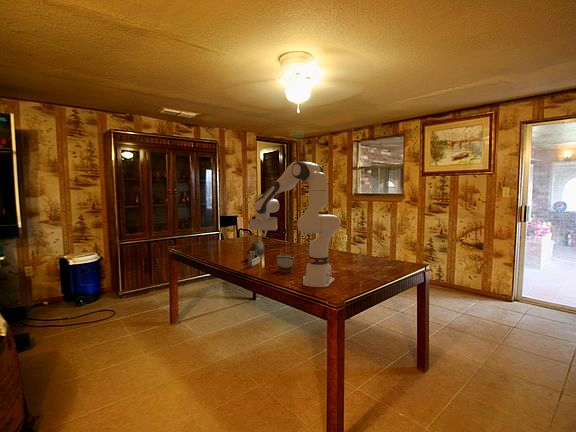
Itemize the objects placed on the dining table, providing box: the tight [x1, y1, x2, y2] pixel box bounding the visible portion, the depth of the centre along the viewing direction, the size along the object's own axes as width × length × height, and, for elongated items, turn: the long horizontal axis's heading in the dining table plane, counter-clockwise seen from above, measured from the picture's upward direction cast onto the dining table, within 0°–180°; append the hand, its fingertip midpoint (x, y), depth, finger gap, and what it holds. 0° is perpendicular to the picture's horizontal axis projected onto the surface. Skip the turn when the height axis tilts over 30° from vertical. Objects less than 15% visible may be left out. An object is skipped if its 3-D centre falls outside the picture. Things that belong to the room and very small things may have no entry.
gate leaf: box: [252, 257, 261, 267], centre depth 221 cm, size 14×1×4 cm, turn 161°
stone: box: [246, 239, 265, 258], centre depth 241 cm, size 15×10×15 cm
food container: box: [275, 254, 295, 273], centre depth 206 cm, size 12×6×10 cm, turn 74°
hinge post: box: [247, 254, 253, 269], centre depth 213 cm, size 3×3×10 cm
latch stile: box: [250, 251, 255, 260], centre depth 227 cm, size 2×3×9 cm
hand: (263, 236), depth 218 cm, fingers closed
